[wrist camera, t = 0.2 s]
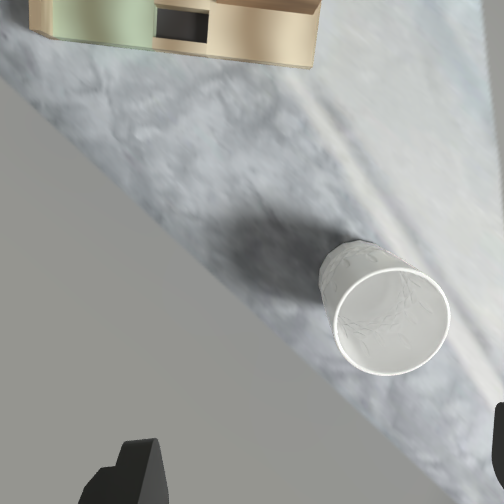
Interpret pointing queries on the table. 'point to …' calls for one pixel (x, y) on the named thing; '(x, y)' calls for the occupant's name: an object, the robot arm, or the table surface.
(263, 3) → the walnut block
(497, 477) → the robot arm
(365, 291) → the white cup
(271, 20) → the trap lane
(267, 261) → the table surface
